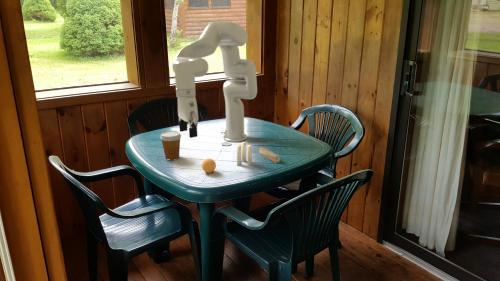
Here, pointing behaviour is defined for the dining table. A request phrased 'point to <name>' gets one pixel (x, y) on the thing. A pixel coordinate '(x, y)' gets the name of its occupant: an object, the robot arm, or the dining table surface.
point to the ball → (208, 165)
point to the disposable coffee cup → (171, 144)
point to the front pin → (239, 155)
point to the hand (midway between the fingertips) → (188, 133)
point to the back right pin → (249, 154)
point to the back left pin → (243, 151)
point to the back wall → (269, 154)
